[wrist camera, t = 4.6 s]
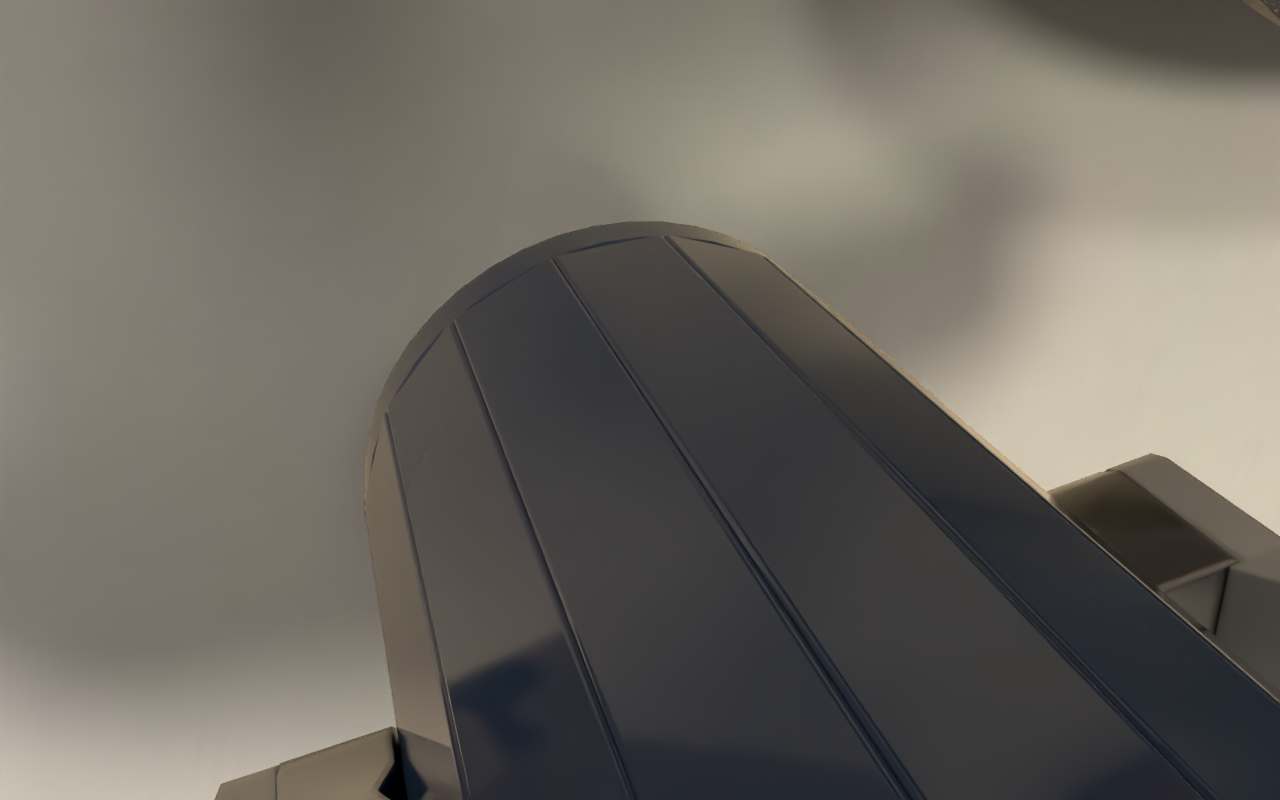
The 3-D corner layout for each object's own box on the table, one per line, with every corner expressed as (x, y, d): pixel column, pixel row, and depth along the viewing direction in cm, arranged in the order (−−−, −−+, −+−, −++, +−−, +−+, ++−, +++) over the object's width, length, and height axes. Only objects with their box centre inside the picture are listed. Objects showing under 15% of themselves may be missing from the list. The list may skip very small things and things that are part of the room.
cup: (248, 417, 11) (222, 1651, 4) (729, 114, 11) (1685, 711, 4) (531, 717, 15) (816, 1657, 7) (896, 484, 15) (1557, 1175, 7)
